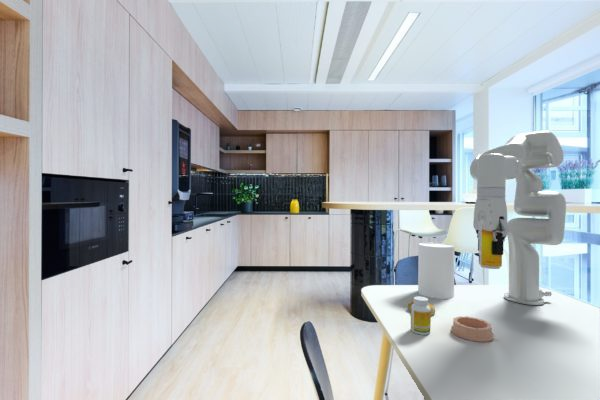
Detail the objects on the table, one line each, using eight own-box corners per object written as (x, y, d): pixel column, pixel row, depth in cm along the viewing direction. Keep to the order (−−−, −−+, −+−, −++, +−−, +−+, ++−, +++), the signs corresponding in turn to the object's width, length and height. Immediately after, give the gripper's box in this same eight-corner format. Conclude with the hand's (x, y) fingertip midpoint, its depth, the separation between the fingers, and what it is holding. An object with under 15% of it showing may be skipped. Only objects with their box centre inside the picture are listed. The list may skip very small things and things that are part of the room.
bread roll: (415, 317, 102) (415, 305, 102) (405, 308, 111) (405, 296, 111) (440, 317, 103) (440, 305, 103) (428, 307, 112) (428, 296, 112)
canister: (443, 288, 136) (443, 242, 136) (461, 298, 122) (461, 247, 123) (412, 289, 135) (413, 242, 135) (427, 298, 122) (427, 247, 122)
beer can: (505, 269, 93) (506, 219, 93) (482, 268, 94) (483, 218, 95) (496, 266, 99) (497, 218, 99) (475, 264, 100) (476, 217, 100)
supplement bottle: (407, 328, 93) (407, 296, 93) (422, 326, 94) (422, 294, 94) (418, 336, 88) (418, 301, 88) (434, 334, 89) (434, 300, 89)
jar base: (478, 326, 95) (479, 315, 95) (502, 342, 84) (502, 330, 84) (444, 326, 95) (444, 315, 95) (464, 342, 84) (464, 330, 84)
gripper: (463, 195, 106) (462, 248, 105) (497, 193, 88) (496, 257, 88) (485, 195, 106) (484, 249, 106) (523, 193, 89) (522, 257, 88)
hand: (490, 252), depth 97 cm, fingers closed on beer can, 6 cm apart
